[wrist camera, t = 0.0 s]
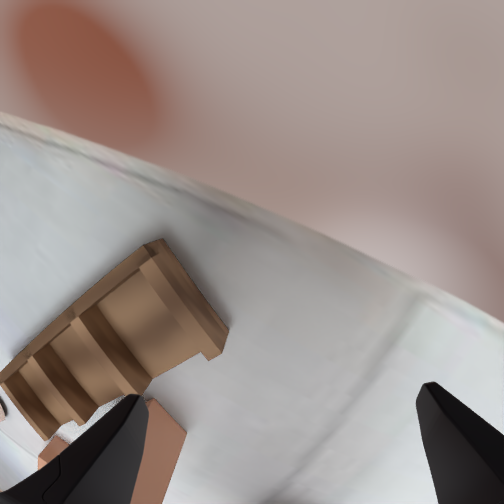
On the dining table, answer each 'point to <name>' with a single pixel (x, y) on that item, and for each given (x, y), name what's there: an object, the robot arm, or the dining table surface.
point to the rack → (113, 341)
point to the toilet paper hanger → (1, 414)
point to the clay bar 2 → (158, 455)
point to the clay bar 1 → (51, 451)
